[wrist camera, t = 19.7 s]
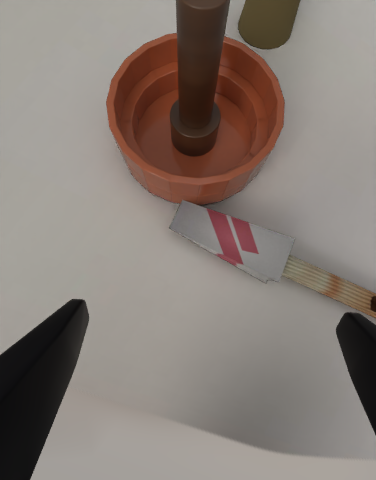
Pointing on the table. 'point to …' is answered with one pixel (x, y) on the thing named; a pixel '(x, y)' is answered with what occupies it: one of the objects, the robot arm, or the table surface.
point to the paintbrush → (263, 254)
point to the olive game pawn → (267, 22)
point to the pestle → (198, 74)
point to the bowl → (159, 131)
